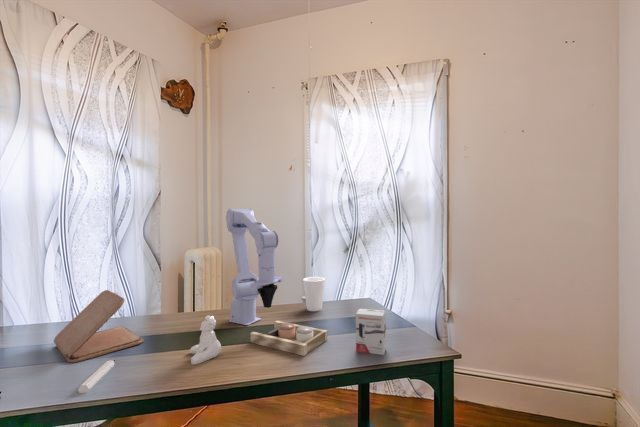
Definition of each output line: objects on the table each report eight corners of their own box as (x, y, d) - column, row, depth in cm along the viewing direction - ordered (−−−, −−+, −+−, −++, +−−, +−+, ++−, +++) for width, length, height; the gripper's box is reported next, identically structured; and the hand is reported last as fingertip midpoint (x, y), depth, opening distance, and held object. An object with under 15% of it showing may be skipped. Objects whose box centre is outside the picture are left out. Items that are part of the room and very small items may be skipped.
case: (52, 347, 106) (51, 297, 106) (125, 329, 121) (124, 285, 121) (65, 367, 92) (64, 310, 92) (146, 344, 107) (145, 295, 107)
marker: (115, 365, 94) (85, 396, 78) (108, 362, 94) (76, 392, 78) (120, 357, 94) (90, 386, 79) (113, 354, 94) (82, 382, 78)
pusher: (260, 341, 108) (260, 331, 108) (279, 331, 117) (279, 321, 117) (270, 344, 106) (270, 333, 106) (289, 333, 115) (289, 323, 114)
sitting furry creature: (190, 352, 100) (189, 313, 100) (219, 347, 104) (219, 309, 104) (191, 365, 92) (190, 322, 91) (223, 360, 95) (222, 318, 95)
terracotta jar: (275, 342, 108) (274, 326, 108) (285, 336, 112) (284, 321, 112) (288, 345, 105) (288, 329, 105) (298, 339, 110) (298, 324, 110)
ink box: (355, 352, 99) (355, 312, 99) (358, 345, 104) (358, 308, 104) (384, 355, 97) (384, 315, 97) (386, 348, 101) (385, 310, 101)
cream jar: (292, 346, 104) (292, 330, 104) (302, 340, 109) (302, 325, 109) (307, 349, 101) (307, 333, 101) (316, 343, 106) (316, 327, 106)
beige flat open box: (250, 342, 107) (250, 333, 107) (277, 328, 119) (277, 320, 119) (304, 355, 97) (304, 345, 97) (327, 339, 109) (327, 330, 109)
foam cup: (301, 311, 139) (301, 281, 139) (305, 305, 148) (305, 276, 148) (323, 312, 138) (323, 281, 138) (326, 306, 147) (326, 277, 147)
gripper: (262, 271, 104) (262, 314, 104) (289, 264, 117) (289, 303, 117) (245, 269, 108) (245, 311, 108) (273, 263, 120) (273, 300, 120)
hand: (267, 307), depth 113 cm, fingers closed
